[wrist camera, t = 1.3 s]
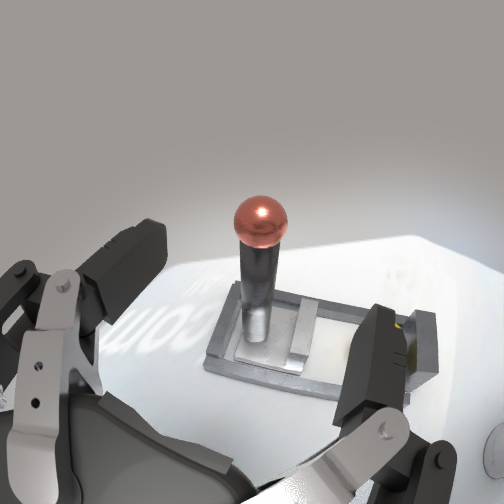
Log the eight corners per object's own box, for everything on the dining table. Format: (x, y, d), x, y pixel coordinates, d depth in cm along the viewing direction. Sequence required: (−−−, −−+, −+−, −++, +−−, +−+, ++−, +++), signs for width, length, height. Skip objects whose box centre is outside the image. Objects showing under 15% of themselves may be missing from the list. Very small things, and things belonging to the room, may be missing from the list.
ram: (311, 319, 37) (353, 187, 22) (299, 375, 32) (351, 262, 16) (248, 305, 38) (249, 168, 23) (230, 358, 33) (214, 234, 18)
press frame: (410, 325, 36) (433, 297, 31) (408, 408, 28) (438, 392, 23) (236, 289, 40) (234, 255, 35) (205, 370, 32) (196, 347, 27)
